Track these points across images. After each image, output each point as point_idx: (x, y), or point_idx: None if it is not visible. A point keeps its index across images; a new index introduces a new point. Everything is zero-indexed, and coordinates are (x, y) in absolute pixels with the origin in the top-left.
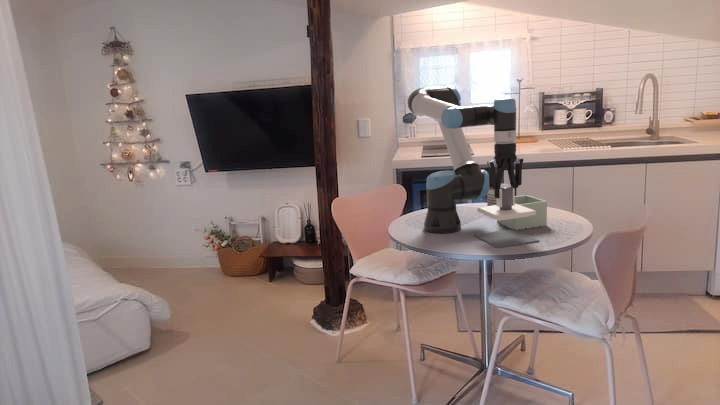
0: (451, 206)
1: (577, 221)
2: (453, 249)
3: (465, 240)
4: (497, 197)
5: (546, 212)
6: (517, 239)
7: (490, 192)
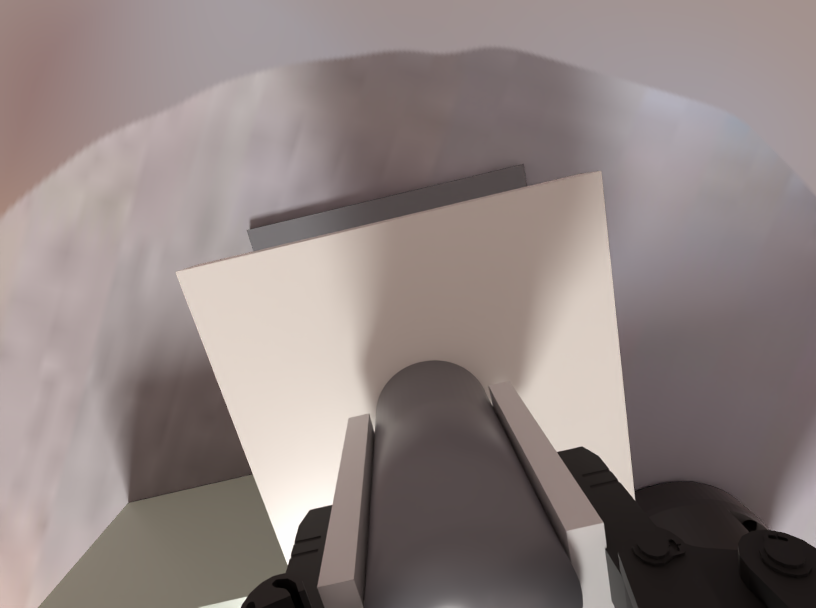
0: None
1: None
2: (749, 204)
3: (629, 345)
4: (580, 455)
5: (73, 569)
6: None
7: None
